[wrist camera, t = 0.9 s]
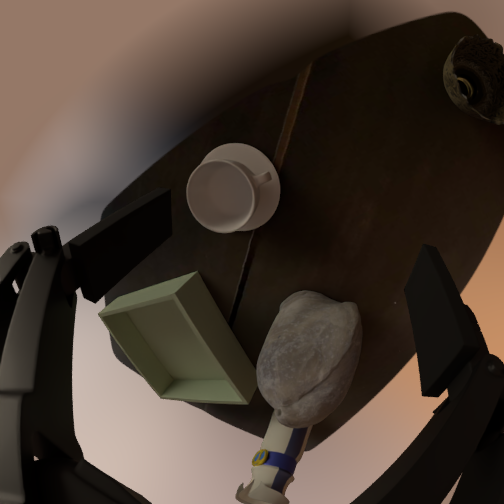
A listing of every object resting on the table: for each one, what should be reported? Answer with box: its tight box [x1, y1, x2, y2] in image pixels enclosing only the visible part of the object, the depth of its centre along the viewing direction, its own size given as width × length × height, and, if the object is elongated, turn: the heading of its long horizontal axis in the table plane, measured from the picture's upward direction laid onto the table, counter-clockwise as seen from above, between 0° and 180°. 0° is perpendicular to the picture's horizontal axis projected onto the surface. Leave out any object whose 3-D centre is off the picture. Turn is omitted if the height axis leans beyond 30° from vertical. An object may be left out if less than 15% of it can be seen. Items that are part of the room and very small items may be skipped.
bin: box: [98, 271, 258, 404], centre depth 42 cm, size 21×21×6 cm
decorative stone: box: [256, 290, 363, 428], centre depth 28 cm, size 15×10×15 cm
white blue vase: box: [236, 409, 312, 504], centre depth 34 cm, size 8×9×25 cm
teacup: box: [187, 143, 280, 233], centre depth 29 cm, size 10×10×5 cm
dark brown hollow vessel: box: [443, 35, 504, 125], centre depth 14 cm, size 8×7×8 cm
